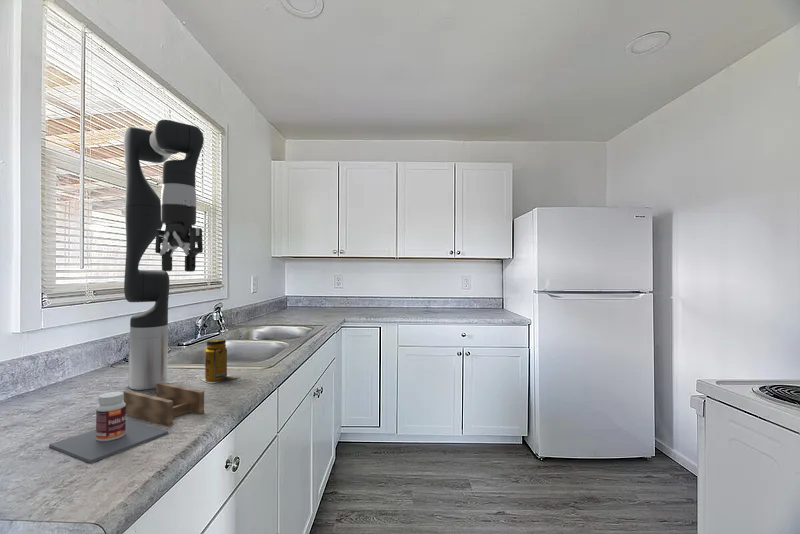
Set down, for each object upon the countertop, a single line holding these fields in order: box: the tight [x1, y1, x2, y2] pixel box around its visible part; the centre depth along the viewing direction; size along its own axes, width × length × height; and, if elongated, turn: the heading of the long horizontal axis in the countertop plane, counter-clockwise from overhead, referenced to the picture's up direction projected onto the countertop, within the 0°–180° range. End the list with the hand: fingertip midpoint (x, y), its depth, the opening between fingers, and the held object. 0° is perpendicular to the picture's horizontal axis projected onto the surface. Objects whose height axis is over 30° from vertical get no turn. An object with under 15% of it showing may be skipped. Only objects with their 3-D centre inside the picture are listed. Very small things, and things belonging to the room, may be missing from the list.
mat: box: [48, 419, 169, 464], centre depth 79 cm, size 14×14×1 cm
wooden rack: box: [123, 382, 205, 427], centre depth 94 cm, size 16×9×5 cm, turn 64°
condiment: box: [199, 338, 238, 385], centre depth 123 cm, size 7×8×12 cm
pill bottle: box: [95, 391, 127, 442], centre depth 79 cm, size 5×5×8 cm
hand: (178, 271), depth 98 cm, fingers open, 8 cm apart
